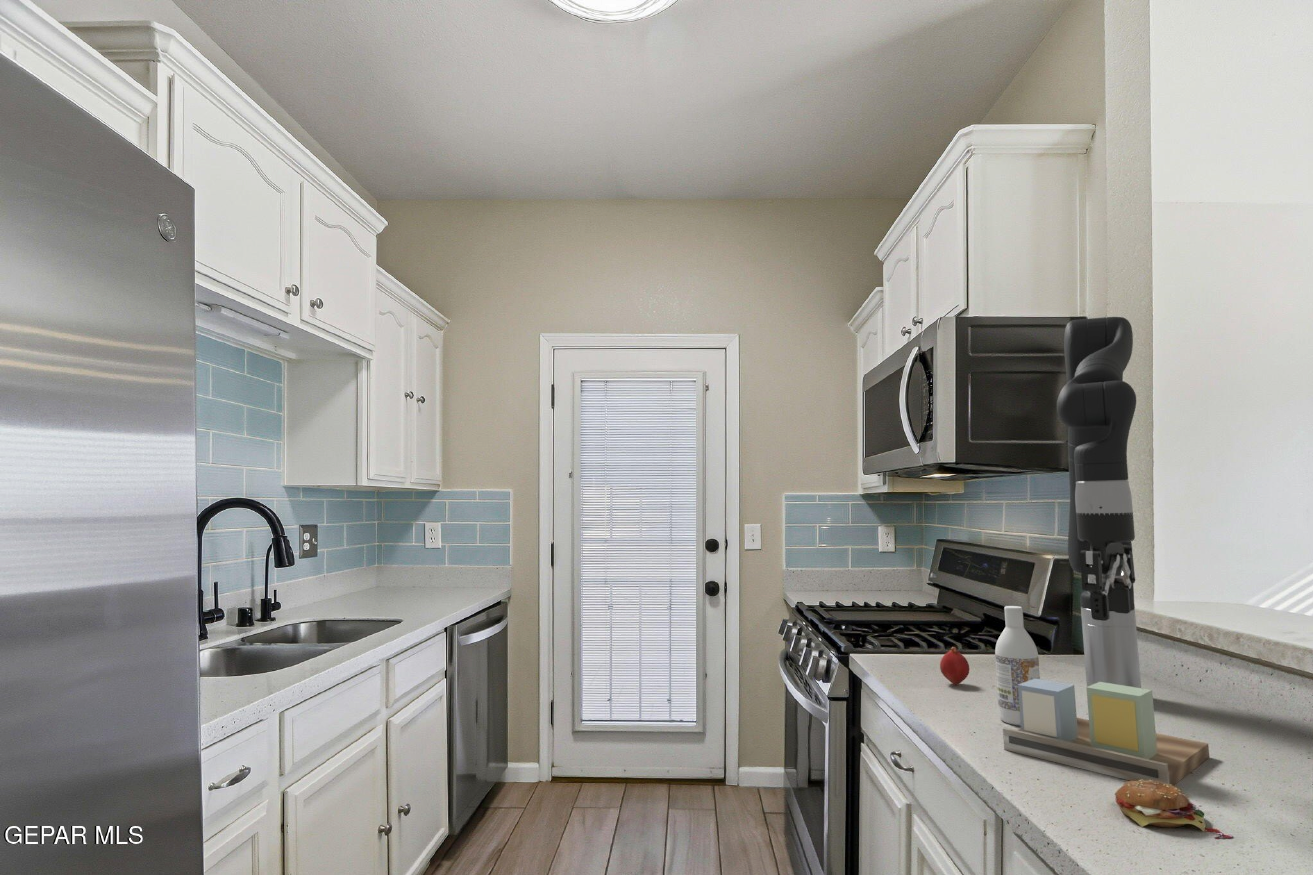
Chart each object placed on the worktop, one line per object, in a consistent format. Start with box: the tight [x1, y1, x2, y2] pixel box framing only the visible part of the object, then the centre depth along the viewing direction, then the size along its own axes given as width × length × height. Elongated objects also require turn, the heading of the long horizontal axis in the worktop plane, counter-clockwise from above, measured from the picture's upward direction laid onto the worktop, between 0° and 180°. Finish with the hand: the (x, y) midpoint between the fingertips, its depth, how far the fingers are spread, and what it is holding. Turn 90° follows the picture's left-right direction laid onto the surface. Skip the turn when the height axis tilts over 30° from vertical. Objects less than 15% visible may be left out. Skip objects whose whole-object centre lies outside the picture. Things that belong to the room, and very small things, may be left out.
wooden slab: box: [1002, 717, 1210, 786], centre depth 112 cm, size 19×22×3 cm
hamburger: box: [1114, 780, 1234, 840], centre depth 88 cm, size 14×14×6 cm
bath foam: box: [994, 605, 1041, 727], centre depth 130 cm, size 7×7×20 cm
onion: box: [939, 646, 970, 686], centre depth 155 cm, size 6×6×8 cm
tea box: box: [1086, 682, 1157, 759], centre depth 107 cm, size 5×7×9 cm
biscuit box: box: [1018, 678, 1078, 742], centre depth 114 cm, size 6×6×8 cm
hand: (1111, 616), depth 111 cm, fingers open, 8 cm apart
